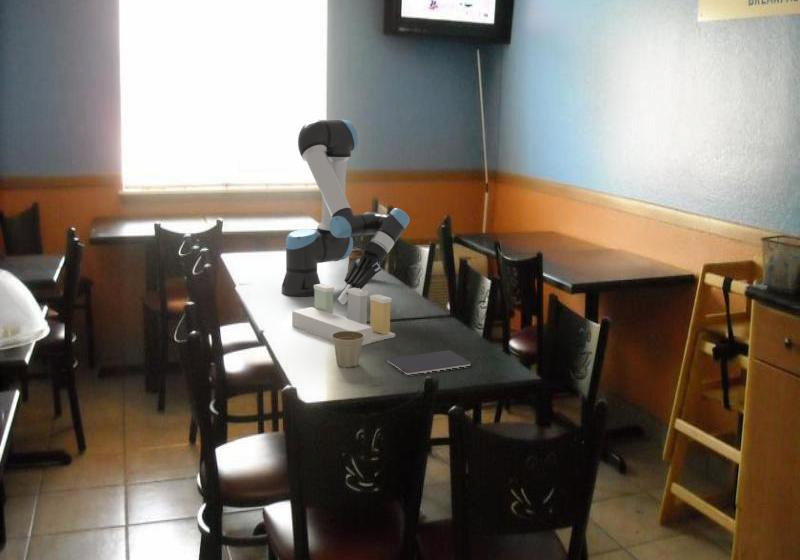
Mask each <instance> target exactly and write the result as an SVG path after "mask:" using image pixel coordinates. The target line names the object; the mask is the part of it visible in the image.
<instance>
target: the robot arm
mask: <svg viewBox="0 0 800 560" xmlns="http://www.w3.org/2000/svg"><path fill="white" fill-rule="evenodd" d="M301 127H302V128H301V129H300V131H299V134H298V136H297V137H298V138H297V147H298V151H299V155H300V157H301V159H302V160H303V161H304V162H306V163H307V165H308V168H309V170H310V172H311V174H312V177H313V178H314V181H315V183H316V185H317V187H318V189H319V192H320V194H321V196H322V200H321V203H322V204H321V222H320V223H319V224H318V225H317V227H316V228H317V230H316V229H312V228H311V229H310V228H306V229H298V230H294V231H291V232H290V233H288V234H287V236H286V240H285V241H286V243H285V250H286V251H285V252H286V253H285V255H286V257H285V263H286V265H285V269H286V271H285V275H284V278H283V282H282V284H281V293H282V294H283V295H286V296H290V297H291V296H292V297H311V296H315V289H314V285H316V284H322V283H321V280H320V277H319V274H318V264H322V263H328V262H338V261H343V260H345V259H347V258H349V255H350V253H351V251H352V250H353V248H354V247H353V246H354V240H353V239H354V238H353V237H359V236H368V235H369V236H370V235H373V236H372V237H371V239H370V241H369V242H368V244H367V245H365V246H366V247H365V248H363V250H364V254H363V255H362V256H361V257H360V259H357V260H356V258H354V259H353V263H352V266H351V268H350V270H349V272H348V274H347V273H346V274H347V276H346V275H345V278H344V282H345V283H346V285H345V286H344V287H343V289H342V291H341V293H340V295H339V296H338V298H336V300H337V301H339V303H340V304H341V305H343V306H344V305H345V304H346V303H348V293H347V289H350V288H358V289H362V290H363V288H365V286H366V285H367V284H368V283H369V282H370V281H371V280H372V279H373V278H374V276H375V275H377V273H378V274H379V272H381V271H382V268H381V266H380V263H382V262H383V261H384V260H385V259H386V257H387V256H388V253H389V252H390V251H391V250H392V248H393V247H394V245H395V243H396V242H397V241H398V240H399V238H400V237H401V235H402V234H403V233H404V232H405V230H406V228H407V226H408V225H409V223H410V217H409V215H408V214H407V213H406V212H405V211H404V210H402V209H401V208H397V207H395V208H393V209H392V210H391V211H390V212H389V213H380V212H376V211H366V212H364V213H361V214H358V213H357V214H355V213H354V212H353V210H352V207H351V205H350V203H349V201H348V199H347V196H346V184H347V183H346V181H347V180H346V178H347V177H346V175H347V161H348V160H349V159H350V158H351V156H352V152H353V151H354V150H356V148H357V146H358V144H359V135H358V132H357V129H356V127H355V126H354V124H353V123H352V121H349V120H348V119H347V120H346V119H313V120H310V121H308V122H307V123H305V124H304V125H303V126H301Z"/></svg>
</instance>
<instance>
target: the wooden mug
mask: <svg viewBox="0 0 800 560" xmlns="http://www.w3.org/2000/svg"><path fill="white" fill-rule="evenodd" d="M363 254H364V249H363V250H361V249H352V251H351V253H350V255H349V256H348V263H347V264H348V266H347V272H346V275H345V277H346V276H347V274H348V272H349V270H350V268H351V266H352V263H353V259H354V258H356V260H357V259H360V257H361V256H362V255H363Z"/></svg>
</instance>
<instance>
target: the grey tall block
mask: <svg viewBox="0 0 800 560" xmlns="http://www.w3.org/2000/svg"><path fill="white" fill-rule="evenodd" d="M347 293H348V300H347V318H348V319H349V320H352V321H355V322H358V323H361V324H364V325H366V324H367V323H368V322H367V319H368V318H367V316H368V314H367V312H368V295H369V291H368V290H365V289H363V288H362V289H360V288H350V289H347ZM367 325H368V324H367Z"/></svg>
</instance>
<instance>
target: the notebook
mask: <svg viewBox="0 0 800 560" xmlns="http://www.w3.org/2000/svg"><path fill="white" fill-rule="evenodd" d="M385 361H386V362H385V363H388V362H389V363H390V364H392V365H393V366H395V367H396V368H398V369H399V370H401V371H402V372H404V373H405V374H407V375H410V374H417V373H424V374H428V373H427V372H430V373H433V372H432V371H437V372H441V371H440V370H444V371H447V370H446V369H451V370H453V369H452V368H457V369H460V368H459V367H464V368H467V367H466V366H470V367H471V364H472V362H471V361H469V360H468V359H466V358H464V357H463V356H461V355H459V354H458V353H456V352H454V351H452V350H449V349H448V350H440V351H435V352H426V353H420V354H412V355H405V356H397V357H389V358H386V360H385ZM389 363H388V364H389ZM390 364H389V365H390ZM392 365H391V366H392ZM393 366H392V367H393ZM395 367H394V368H395ZM396 368H395V369H396ZM398 369H397V370H398ZM399 370H398V371H399ZM401 371H400V372H401ZM402 372H401V373H402ZM404 373H403V374H404ZM405 374H404V375H405ZM407 375H406V376H407ZM417 375H418V374H417ZM410 376H411V375H410Z"/></svg>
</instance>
